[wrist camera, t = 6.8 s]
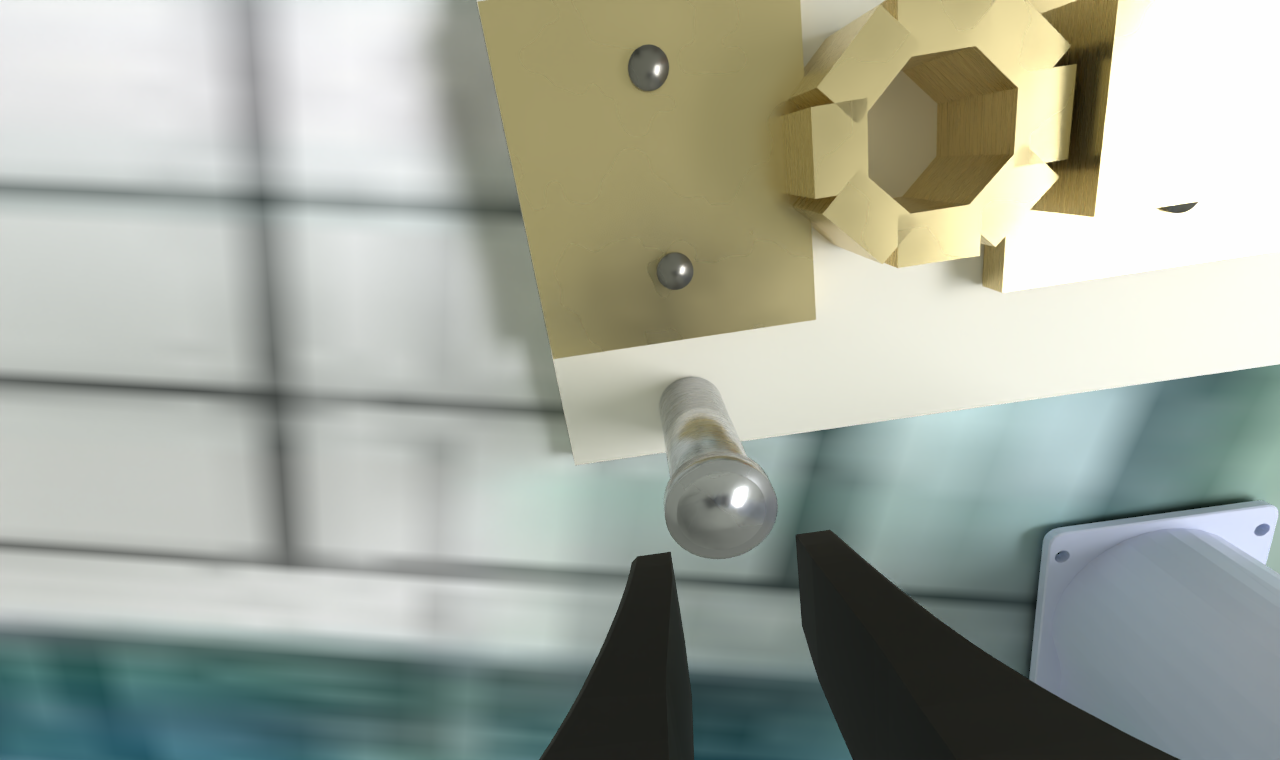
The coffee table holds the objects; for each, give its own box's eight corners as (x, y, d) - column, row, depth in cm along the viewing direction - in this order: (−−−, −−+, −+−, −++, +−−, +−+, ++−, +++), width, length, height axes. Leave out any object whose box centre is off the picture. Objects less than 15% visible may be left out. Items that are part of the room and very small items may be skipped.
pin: (732, 436, 19) (779, 552, 14) (656, 446, 19) (670, 564, 14) (727, 364, 18) (775, 455, 13) (647, 374, 18) (659, 469, 13)
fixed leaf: (974, 286, 18) (1053, 314, 14) (557, 349, 18) (541, 390, 15) (990, -75, 15) (1096, -145, 11) (486, 11, 15) (447, -31, 12)
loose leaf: (1245, 246, 17) (1416, 269, 13) (982, 285, 17) (1078, 319, 14) (1320, -133, 14) (1570, -239, 10) (1000, -78, 14) (1130, -163, 11)
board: (1428, 331, 19) (1460, 337, 18) (577, 454, 20) (575, 465, 19) (1621, -273, 14) (1676, -297, 13) (467, -69, 15) (458, -82, 14)
